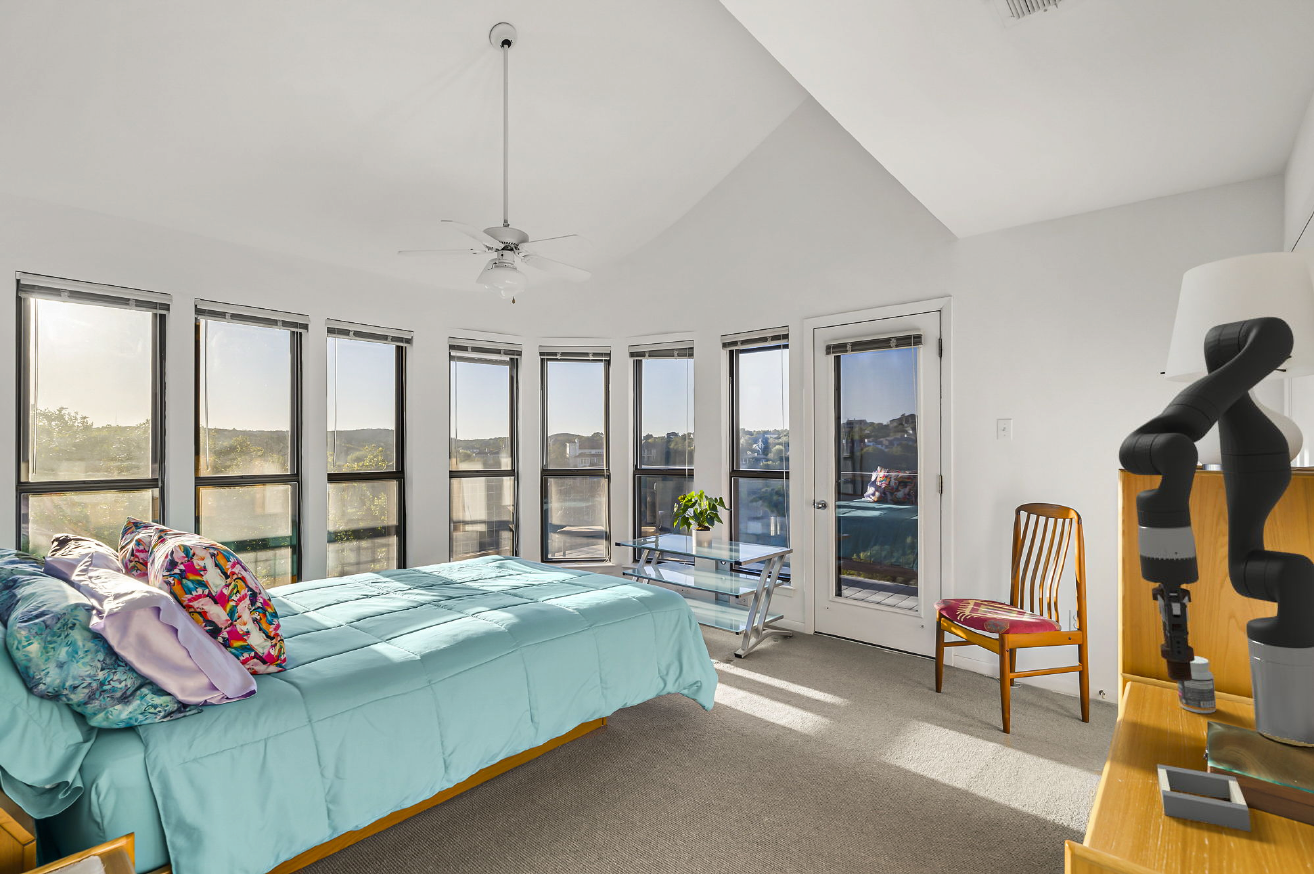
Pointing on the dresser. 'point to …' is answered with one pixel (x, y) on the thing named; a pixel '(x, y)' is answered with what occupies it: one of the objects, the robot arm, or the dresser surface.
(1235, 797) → the grey white square frame
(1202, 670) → the pill bottle
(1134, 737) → the dresser surface
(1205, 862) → the dresser surface
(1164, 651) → the bolt
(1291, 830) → the dresser surface
